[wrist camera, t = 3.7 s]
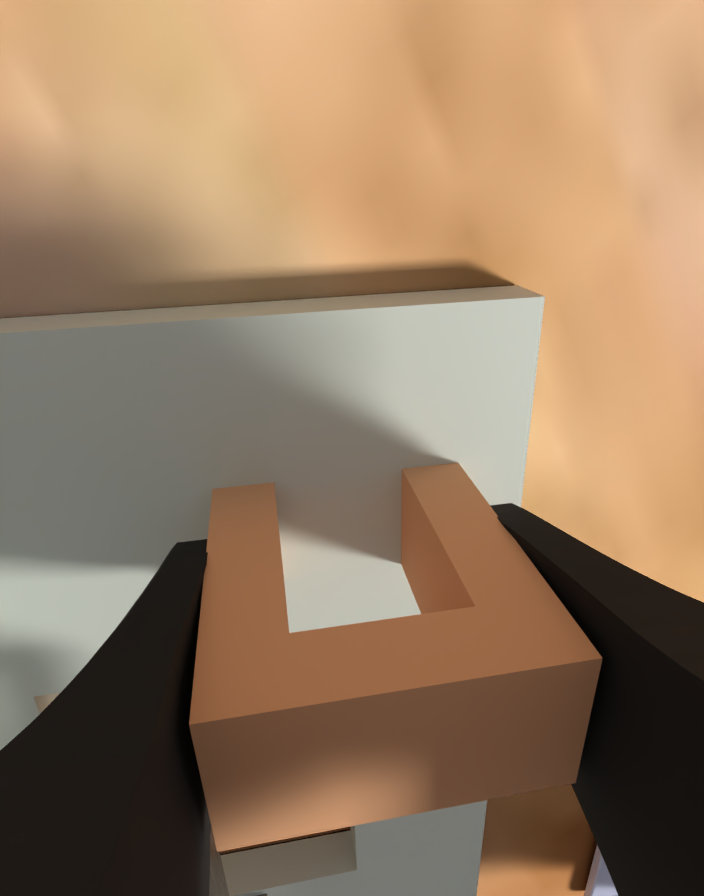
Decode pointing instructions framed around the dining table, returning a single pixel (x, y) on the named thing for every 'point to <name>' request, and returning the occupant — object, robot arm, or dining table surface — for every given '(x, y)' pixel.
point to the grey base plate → (247, 463)
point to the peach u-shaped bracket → (382, 676)
